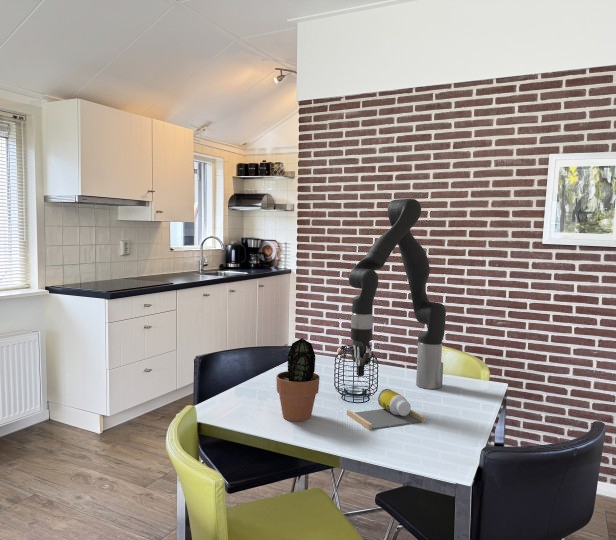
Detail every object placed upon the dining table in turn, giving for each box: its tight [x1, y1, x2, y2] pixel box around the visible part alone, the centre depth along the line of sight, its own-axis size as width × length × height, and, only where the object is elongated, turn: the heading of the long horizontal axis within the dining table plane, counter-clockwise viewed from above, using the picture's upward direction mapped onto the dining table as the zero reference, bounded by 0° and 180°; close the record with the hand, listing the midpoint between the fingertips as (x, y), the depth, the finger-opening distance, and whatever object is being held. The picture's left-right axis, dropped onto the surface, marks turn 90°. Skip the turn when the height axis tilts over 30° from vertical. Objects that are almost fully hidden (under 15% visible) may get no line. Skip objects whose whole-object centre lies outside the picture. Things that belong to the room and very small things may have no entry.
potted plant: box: [275, 337, 320, 423], centre depth 161 cm, size 14×14×25 cm
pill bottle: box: [377, 388, 412, 416], centre depth 167 cm, size 6×6×12 cm
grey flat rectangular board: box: [346, 408, 425, 431], centre depth 163 cm, size 20×14×2 cm
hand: (360, 375), depth 178 cm, fingers closed
